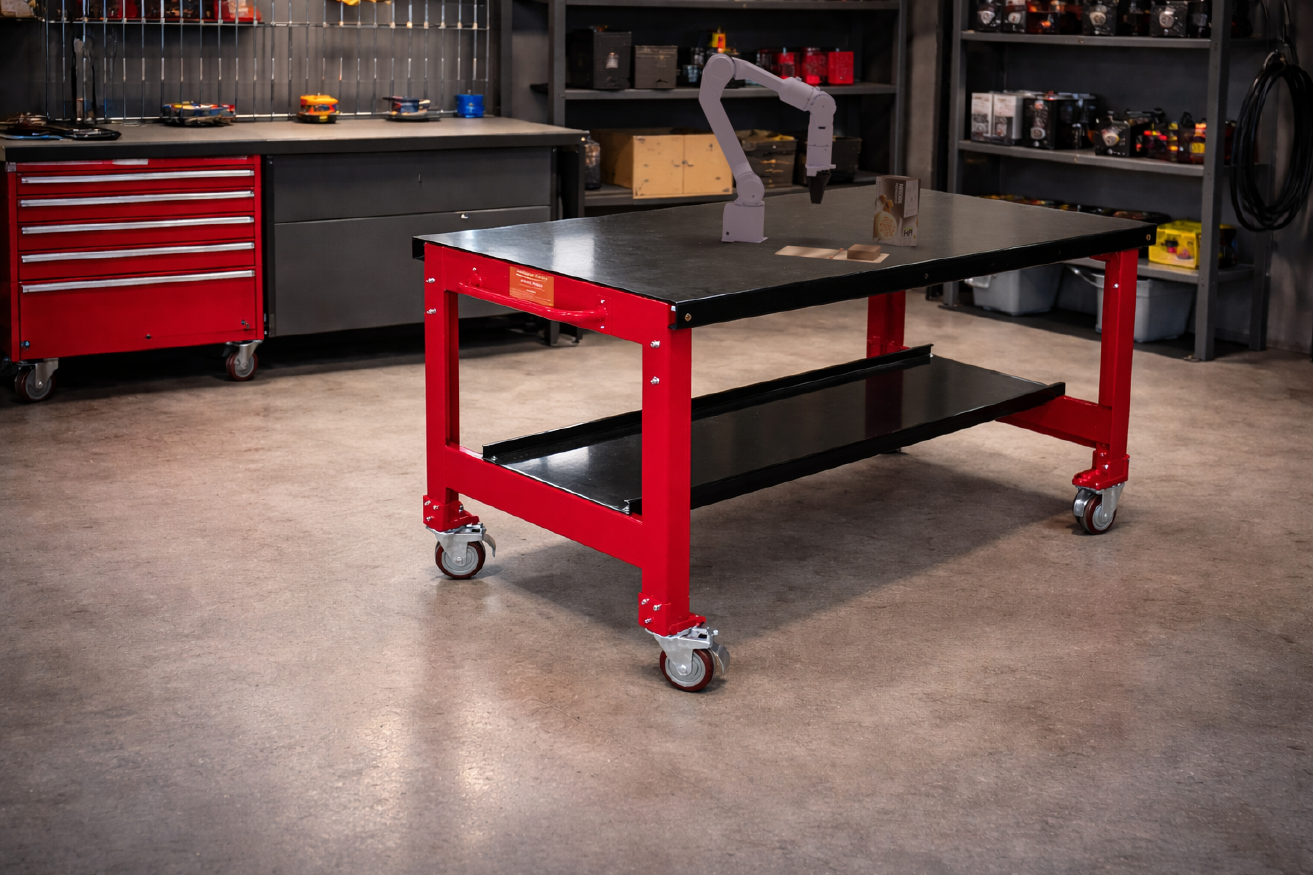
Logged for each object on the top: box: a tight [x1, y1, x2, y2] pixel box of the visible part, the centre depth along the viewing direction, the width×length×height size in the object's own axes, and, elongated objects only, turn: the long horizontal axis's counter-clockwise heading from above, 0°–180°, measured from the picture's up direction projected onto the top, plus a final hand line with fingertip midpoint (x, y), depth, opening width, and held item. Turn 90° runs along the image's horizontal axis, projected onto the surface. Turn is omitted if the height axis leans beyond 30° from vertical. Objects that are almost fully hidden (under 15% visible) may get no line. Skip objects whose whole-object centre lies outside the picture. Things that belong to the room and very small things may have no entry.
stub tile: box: [846, 243, 882, 261], centre depth 306 cm, size 6×8×2 cm
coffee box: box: [871, 174, 922, 247], centre depth 324 cm, size 9×6×16 cm
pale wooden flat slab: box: [774, 245, 890, 264], centre depth 309 cm, size 24×12×1 cm, turn 71°
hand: (816, 203), depth 323 cm, fingers closed
